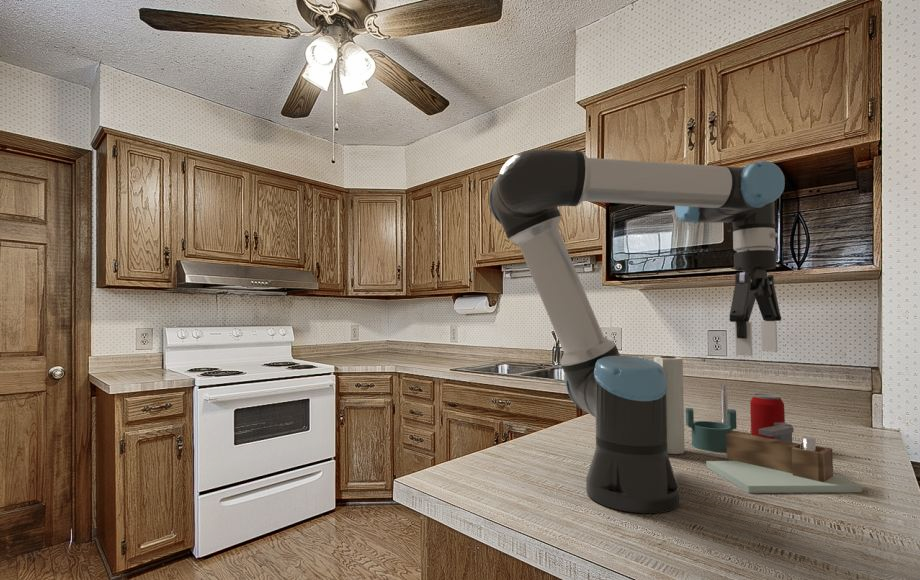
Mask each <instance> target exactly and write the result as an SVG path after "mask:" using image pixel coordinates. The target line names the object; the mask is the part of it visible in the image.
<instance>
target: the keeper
mask: <svg viewBox="0 0 920 580" xmlns="http://www.w3.org/2000/svg"><path fill="white" fill-rule="evenodd" d="M794 432H795V431H794V426H792V424H790V423H787V422H785V423H784V422H776V423H774V426H772V427H766V428H761V429H759V434H760V435H765V436H769V437H774V439H776V440H781V441H787V442H792V443H793V433H794Z"/></svg>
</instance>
